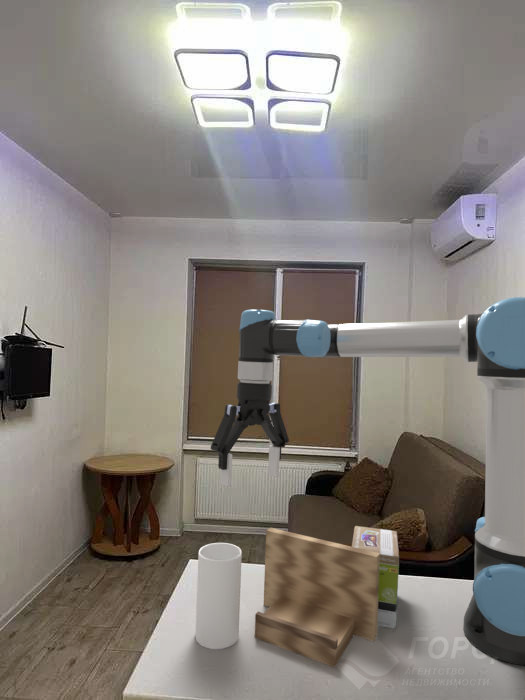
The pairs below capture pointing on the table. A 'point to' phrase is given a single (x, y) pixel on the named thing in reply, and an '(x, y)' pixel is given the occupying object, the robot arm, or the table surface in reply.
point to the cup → (218, 595)
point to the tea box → (382, 568)
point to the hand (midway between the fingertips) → (250, 480)
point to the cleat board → (317, 595)
